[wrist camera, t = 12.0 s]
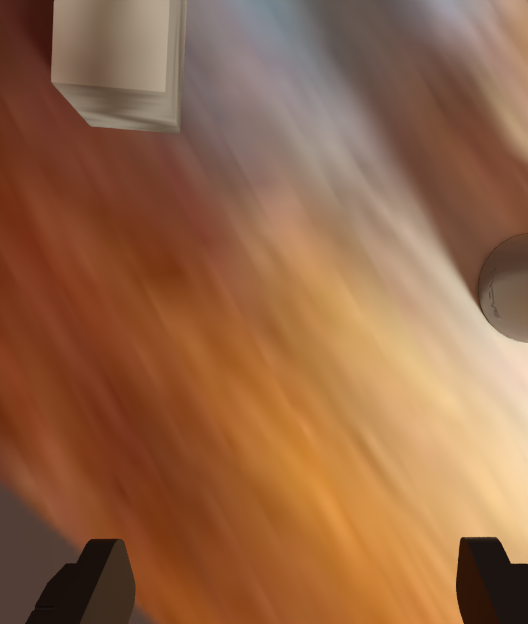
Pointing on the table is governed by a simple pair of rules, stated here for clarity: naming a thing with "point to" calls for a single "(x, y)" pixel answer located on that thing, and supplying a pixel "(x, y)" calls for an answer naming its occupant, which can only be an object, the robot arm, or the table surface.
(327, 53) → the table surface
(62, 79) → the beige rectangular block
